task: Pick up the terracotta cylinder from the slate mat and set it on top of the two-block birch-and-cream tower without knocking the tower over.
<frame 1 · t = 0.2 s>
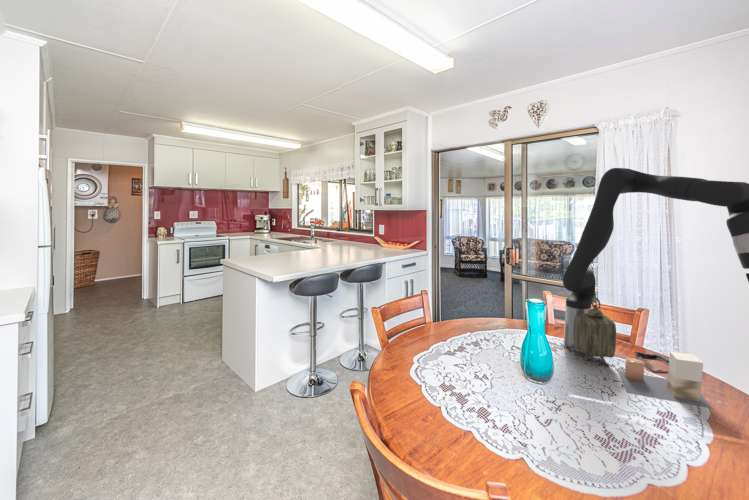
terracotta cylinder: (633, 378, 113), point 1 cm above the table, touching slate mat
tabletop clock: (591, 361, 128), on the table
tower base: (682, 394, 102), point 1 cm above the table, touching slate mat, tower top
slate mat: (660, 389, 107), on the table
tower top: (684, 375, 102), point 7 cm above the table, touching tower base
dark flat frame: (657, 367, 122), on the table
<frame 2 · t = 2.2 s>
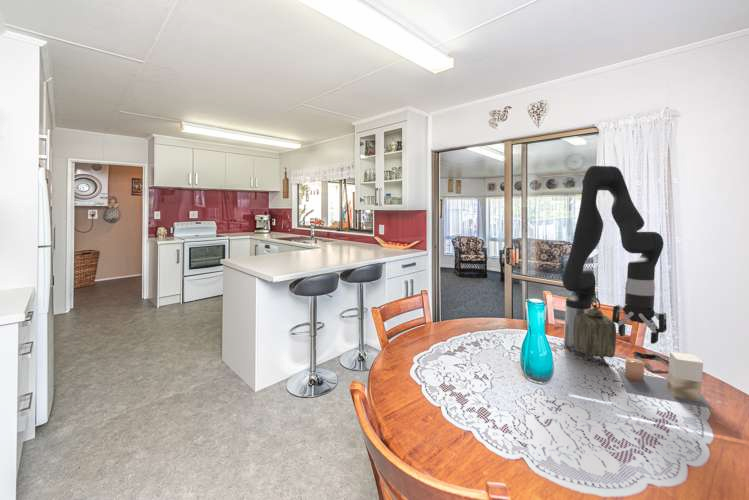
hand: (637, 339, 111), 14 cm above the table, tool pointing down, fingers open, 8 cm apart
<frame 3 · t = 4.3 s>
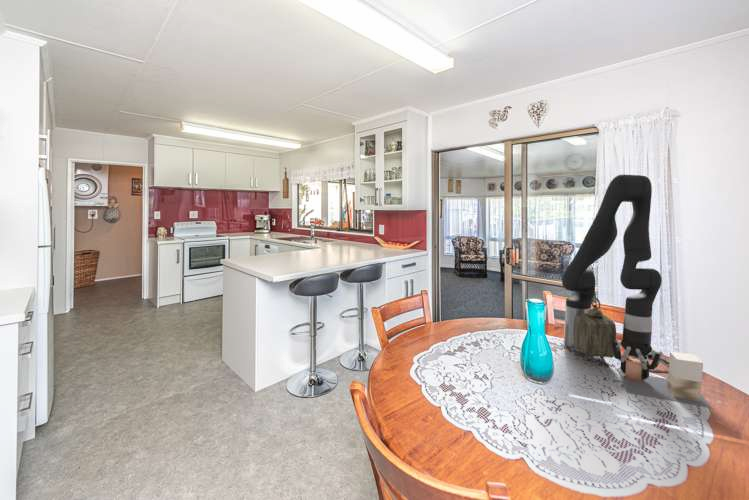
hand: (634, 375, 113), 2 cm above the table, tool pointing down, fingers closed on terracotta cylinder, 5 cm apart
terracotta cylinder: (634, 378, 113), point 1 cm above the table, touching gripper, slate mat
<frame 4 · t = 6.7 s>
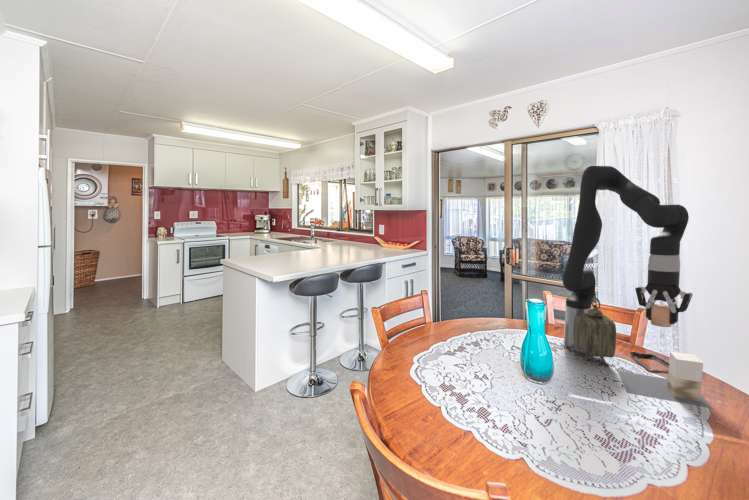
hand: (661, 321, 105), 22 cm above the table, tool pointing down, fingers closed on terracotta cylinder, 5 cm apart
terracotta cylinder: (660, 324, 105), point 21 cm above the table, touching gripper
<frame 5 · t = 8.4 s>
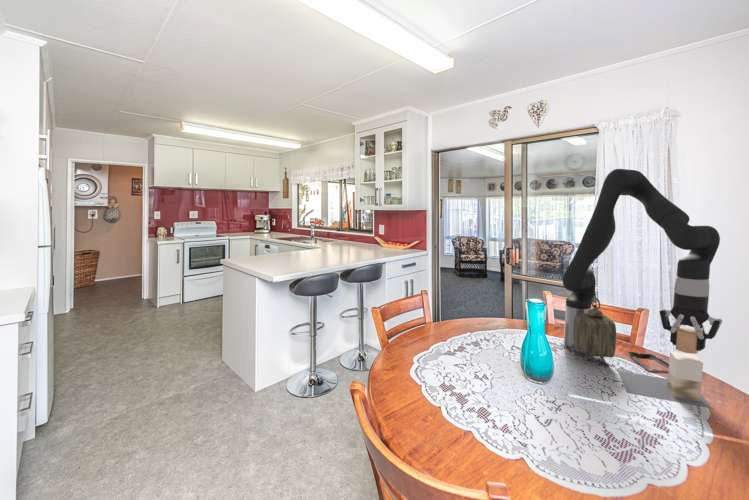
hand: (686, 346, 101), 16 cm above the table, tool pointing down, fingers closed on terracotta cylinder, 5 cm apart
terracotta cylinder: (686, 350, 101), point 15 cm above the table, touching gripper
when the fingers open (15 cm above the table, at t = 9.4 s): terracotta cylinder drops 2 cm, resting on tower top.
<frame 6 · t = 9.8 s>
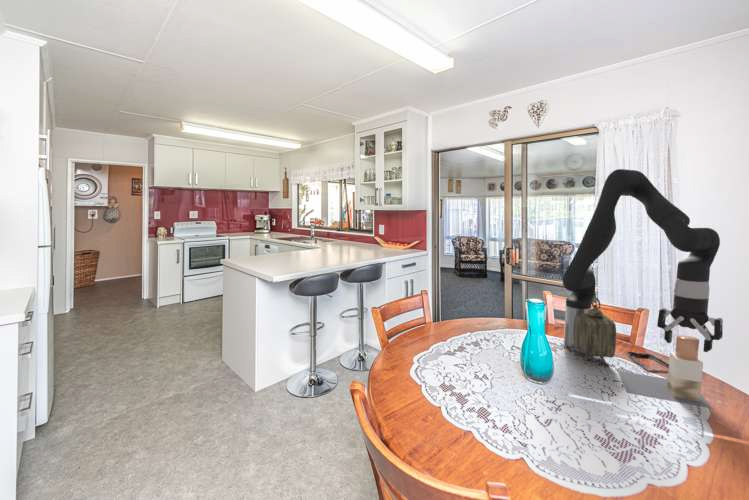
hand: (686, 346, 101), 16 cm above the table, tool pointing down, fingers open, 8 cm apart
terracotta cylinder: (686, 357, 101), point 13 cm above the table, touching tower top
tower top: (684, 375, 102), point 7 cm above the table, touching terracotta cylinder, tower base
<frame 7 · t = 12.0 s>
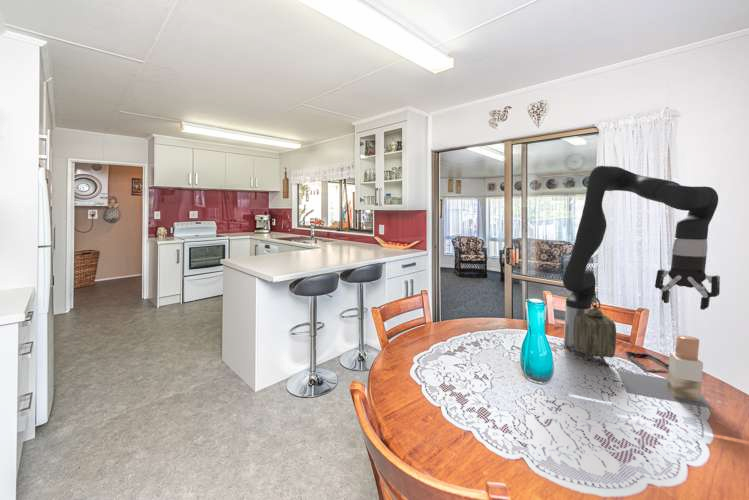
hand: (683, 305, 102), 28 cm above the table, tool pointing down, fingers open, 8 cm apart
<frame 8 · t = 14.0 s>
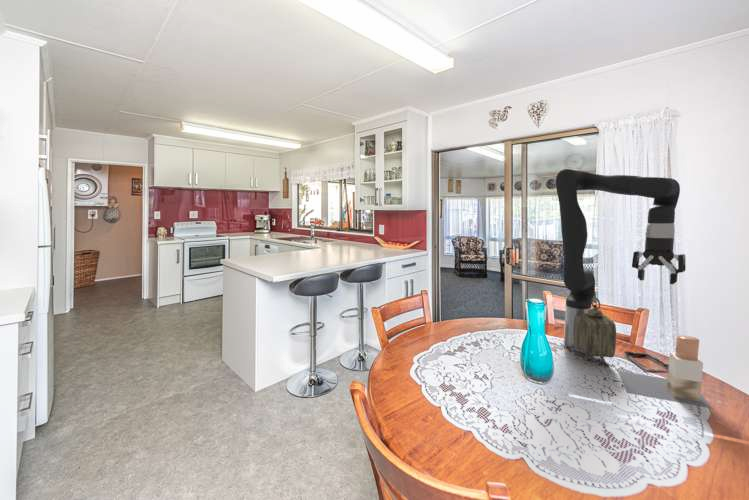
hand: (656, 282, 117), 32 cm above the table, tool pointing down, fingers open, 8 cm apart
at the end: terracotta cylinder 0.1 cm off-centre on the tower base, point 12.0 cm above the tower base's base; tower top 0.0 cm off-centre on the tower base, point 6.0 cm above the tower base's base; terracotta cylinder tilted 0° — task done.
